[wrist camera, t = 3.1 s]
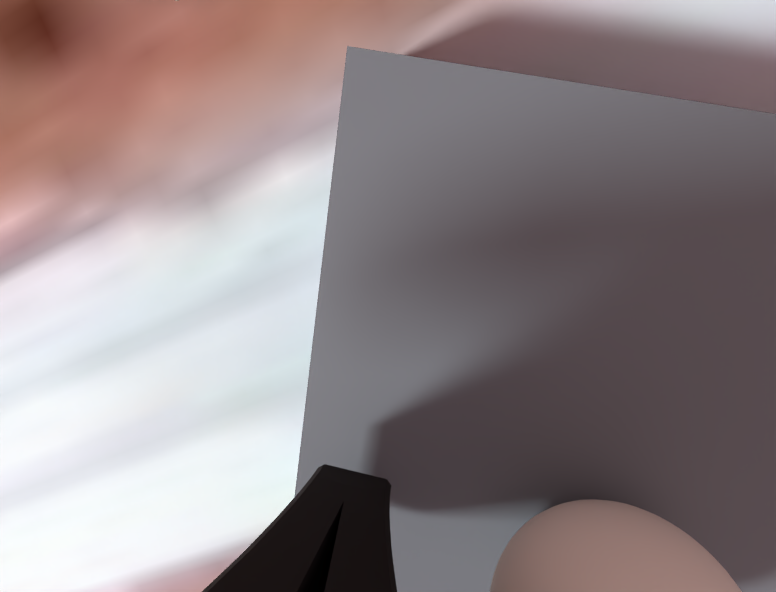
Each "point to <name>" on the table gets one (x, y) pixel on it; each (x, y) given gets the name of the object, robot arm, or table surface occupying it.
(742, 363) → the plate
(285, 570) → the robot arm
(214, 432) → the table surface
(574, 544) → the ball
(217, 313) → the table surface
